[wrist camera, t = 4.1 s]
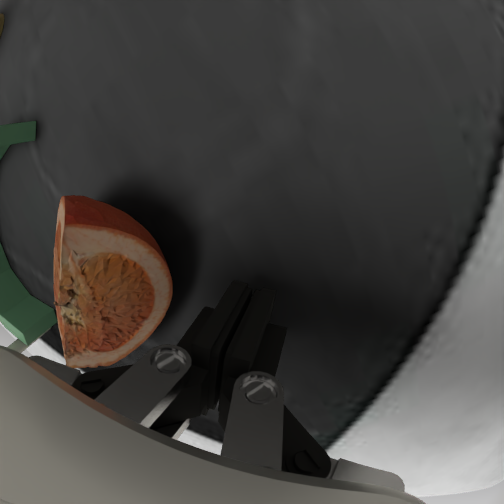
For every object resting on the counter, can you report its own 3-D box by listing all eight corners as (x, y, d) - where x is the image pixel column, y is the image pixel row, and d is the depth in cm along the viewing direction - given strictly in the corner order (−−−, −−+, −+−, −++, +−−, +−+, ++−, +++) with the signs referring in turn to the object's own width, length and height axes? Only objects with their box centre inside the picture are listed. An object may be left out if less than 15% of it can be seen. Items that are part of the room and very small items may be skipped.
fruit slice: (160, 348, 15) (113, 408, 11) (75, 286, 15) (19, 326, 11) (211, 223, 12) (141, 277, 7) (96, 158, 12) (12, 178, 7)
